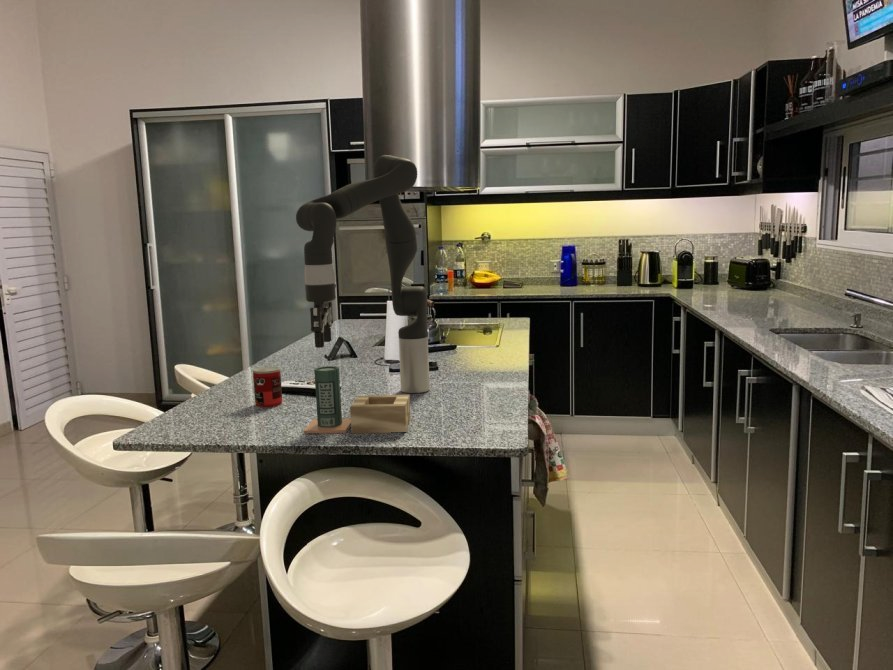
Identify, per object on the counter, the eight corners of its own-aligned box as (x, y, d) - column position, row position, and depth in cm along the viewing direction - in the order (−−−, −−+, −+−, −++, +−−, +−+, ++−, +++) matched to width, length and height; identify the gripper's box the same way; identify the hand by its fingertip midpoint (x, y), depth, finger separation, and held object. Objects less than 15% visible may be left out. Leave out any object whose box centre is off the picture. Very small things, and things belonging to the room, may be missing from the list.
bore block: (359, 420, 192) (358, 395, 191) (410, 419, 192) (409, 394, 190) (351, 433, 180) (349, 406, 179) (406, 432, 180) (404, 405, 179)
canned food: (254, 403, 216) (251, 368, 214) (280, 400, 219) (278, 365, 217) (256, 409, 209) (254, 372, 207) (284, 405, 212) (281, 369, 210)
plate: (313, 422, 192) (313, 419, 192) (353, 421, 192) (353, 418, 192) (303, 433, 182) (303, 430, 181) (345, 433, 181) (345, 430, 181)
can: (343, 420, 190) (340, 366, 187) (339, 427, 184) (335, 370, 181) (321, 421, 190) (317, 366, 188) (316, 427, 184) (312, 371, 182)
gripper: (328, 284, 174) (332, 349, 176) (340, 279, 188) (343, 339, 190) (298, 285, 174) (302, 349, 177) (312, 280, 188) (315, 340, 191)
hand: (323, 344), depth 183 cm, fingers open, 8 cm apart
